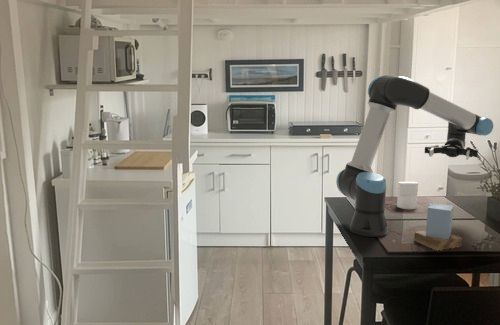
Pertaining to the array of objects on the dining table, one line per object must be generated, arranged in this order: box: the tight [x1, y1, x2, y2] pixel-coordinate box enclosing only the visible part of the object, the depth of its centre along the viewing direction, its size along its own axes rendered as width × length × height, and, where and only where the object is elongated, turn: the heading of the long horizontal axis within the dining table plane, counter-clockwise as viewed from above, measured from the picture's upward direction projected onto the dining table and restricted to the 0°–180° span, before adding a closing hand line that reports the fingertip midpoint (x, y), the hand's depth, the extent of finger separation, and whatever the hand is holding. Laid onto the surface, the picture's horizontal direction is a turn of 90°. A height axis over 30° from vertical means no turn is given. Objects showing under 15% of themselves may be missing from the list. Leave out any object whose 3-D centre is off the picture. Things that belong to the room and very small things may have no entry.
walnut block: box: [413, 229, 463, 252], centre depth 186 cm, size 12×12×4 cm
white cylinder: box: [396, 181, 419, 210], centre depth 236 cm, size 9×9×12 cm
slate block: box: [425, 202, 454, 239], centre depth 184 cm, size 8×8×11 cm
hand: (448, 154), depth 193 cm, fingers open, 13 cm apart
